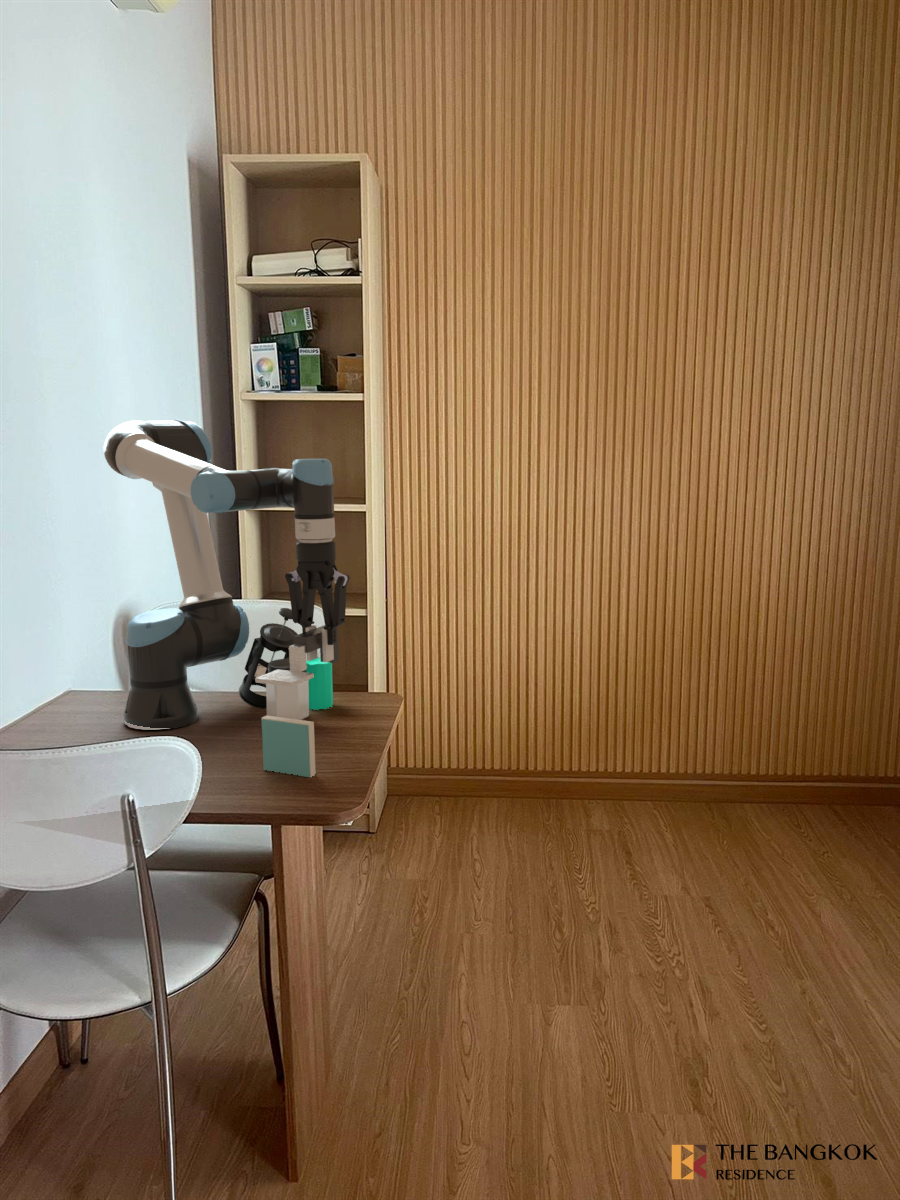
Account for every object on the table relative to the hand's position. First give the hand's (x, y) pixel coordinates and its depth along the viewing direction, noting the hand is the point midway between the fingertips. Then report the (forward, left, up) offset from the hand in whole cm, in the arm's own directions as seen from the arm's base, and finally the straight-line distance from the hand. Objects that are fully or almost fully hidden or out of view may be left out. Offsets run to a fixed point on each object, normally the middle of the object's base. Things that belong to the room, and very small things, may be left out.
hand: (320, 659), depth 188 cm
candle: (-14, +22, -17) cm, 31 cm away
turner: (0, -6, -1) cm, 6 cm away
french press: (-27, +18, -15) cm, 35 cm away
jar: (-16, +12, -17) cm, 26 cm away
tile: (+2, -16, -17) cm, 24 cm away
